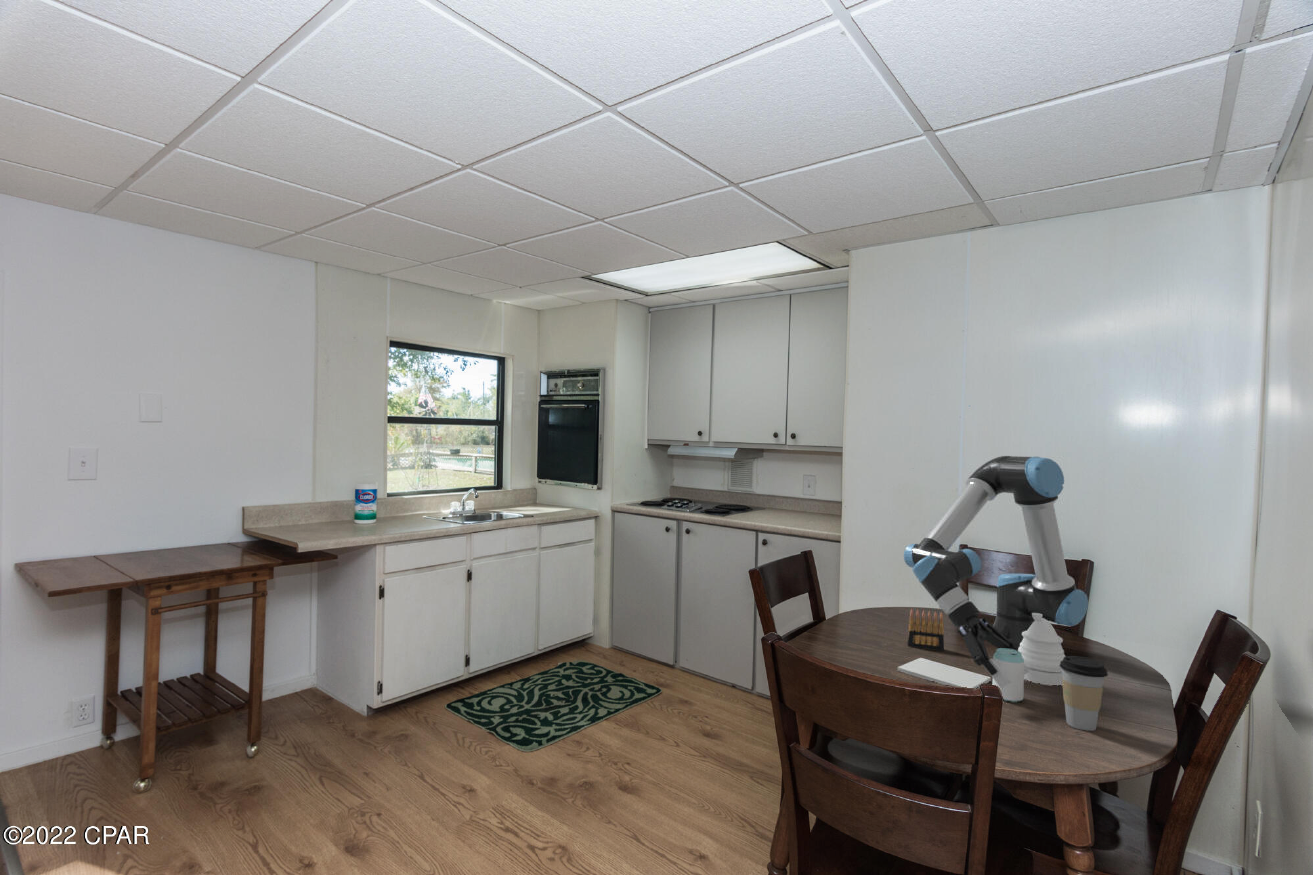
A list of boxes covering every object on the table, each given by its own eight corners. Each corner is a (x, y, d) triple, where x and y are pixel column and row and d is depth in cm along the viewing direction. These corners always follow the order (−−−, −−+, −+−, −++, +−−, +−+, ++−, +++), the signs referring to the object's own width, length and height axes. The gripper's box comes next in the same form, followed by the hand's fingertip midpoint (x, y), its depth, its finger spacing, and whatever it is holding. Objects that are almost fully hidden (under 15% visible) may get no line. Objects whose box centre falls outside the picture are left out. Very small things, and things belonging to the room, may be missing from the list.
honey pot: (1041, 687, 174) (1043, 620, 174) (1004, 670, 186) (1006, 608, 187) (1078, 684, 177) (1080, 619, 178) (1039, 667, 190) (1041, 607, 190)
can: (1023, 696, 167) (1024, 650, 167) (1022, 705, 161) (1024, 657, 161) (992, 690, 170) (994, 645, 170) (991, 699, 164) (992, 652, 164)
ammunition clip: (943, 649, 205) (944, 611, 205) (944, 650, 203) (945, 612, 203) (907, 644, 208) (908, 607, 208) (907, 646, 206) (909, 609, 206)
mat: (897, 670, 183) (897, 667, 183) (920, 660, 192) (920, 657, 192) (969, 692, 168) (969, 689, 168) (990, 681, 177) (990, 677, 177)
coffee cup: (1048, 716, 154) (1050, 654, 154) (1085, 716, 155) (1087, 654, 155) (1077, 734, 145) (1079, 668, 145) (1116, 734, 146) (1118, 668, 146)
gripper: (967, 608, 185) (1022, 676, 174) (927, 622, 169) (985, 697, 158) (987, 594, 182) (1044, 662, 170) (948, 606, 165) (1009, 682, 154)
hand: (1016, 679), depth 164 cm, fingers open, 13 cm apart
